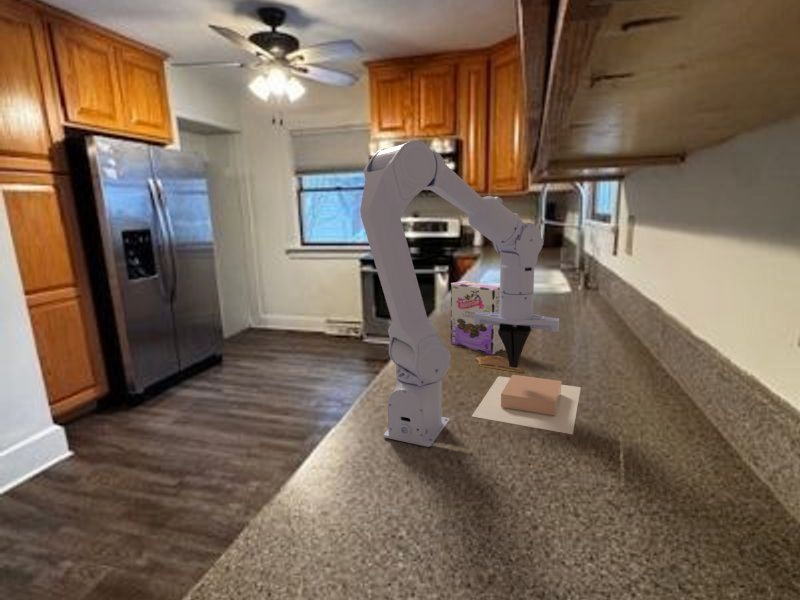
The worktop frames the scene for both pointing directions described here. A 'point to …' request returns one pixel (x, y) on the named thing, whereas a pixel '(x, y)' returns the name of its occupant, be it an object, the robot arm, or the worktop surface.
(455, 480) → the worktop surface
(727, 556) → the worktop surface
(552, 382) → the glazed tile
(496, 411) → the cutting board
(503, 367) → the shard
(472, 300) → the candy box
